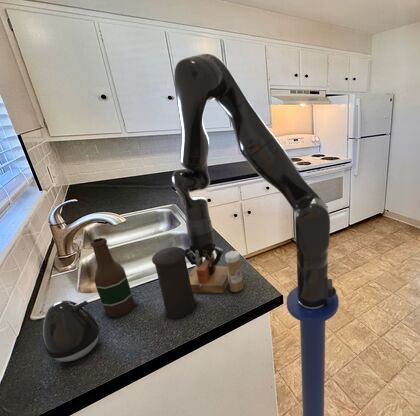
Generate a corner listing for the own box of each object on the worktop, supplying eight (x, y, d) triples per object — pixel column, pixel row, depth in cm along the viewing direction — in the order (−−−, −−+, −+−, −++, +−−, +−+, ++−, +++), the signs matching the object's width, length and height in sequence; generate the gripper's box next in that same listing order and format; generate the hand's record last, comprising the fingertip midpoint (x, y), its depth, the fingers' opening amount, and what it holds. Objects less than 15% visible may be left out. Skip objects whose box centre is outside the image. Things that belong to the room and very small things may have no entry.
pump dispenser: (96, 361, 66) (76, 312, 60) (43, 375, 62) (17, 325, 57) (110, 330, 74) (93, 285, 69) (64, 341, 71) (43, 294, 66)
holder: (206, 283, 89) (204, 269, 87) (198, 282, 89) (196, 269, 87) (216, 267, 97) (214, 255, 95) (209, 267, 97) (207, 255, 96)
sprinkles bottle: (238, 293, 88) (233, 258, 84) (226, 290, 90) (221, 256, 85) (246, 285, 92) (242, 251, 87) (234, 282, 94) (230, 249, 89)
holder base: (234, 271, 100) (233, 264, 99) (222, 295, 88) (220, 287, 87) (197, 270, 101) (196, 263, 100) (180, 294, 89) (178, 286, 87)
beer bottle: (130, 315, 80) (107, 244, 71) (100, 320, 78) (73, 248, 69) (139, 298, 87) (119, 232, 78) (112, 302, 85) (88, 235, 76)
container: (199, 297, 87) (188, 243, 80) (192, 317, 79) (180, 259, 71) (170, 300, 86) (157, 245, 78) (161, 321, 77) (145, 262, 70)
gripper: (172, 234, 83) (182, 280, 90) (216, 234, 83) (223, 281, 89) (184, 224, 90) (192, 267, 97) (224, 224, 90) (230, 268, 96)
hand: (207, 273), depth 93 cm, fingers closed on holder, 2 cm apart
